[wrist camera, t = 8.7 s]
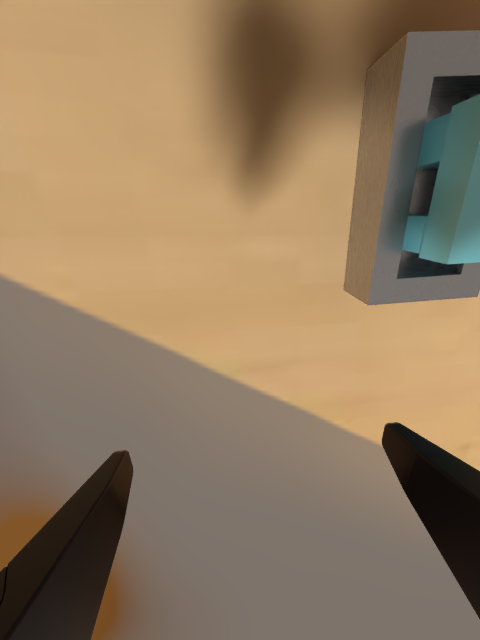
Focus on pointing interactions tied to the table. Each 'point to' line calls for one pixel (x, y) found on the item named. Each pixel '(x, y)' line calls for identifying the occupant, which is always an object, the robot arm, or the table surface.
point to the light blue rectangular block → (450, 189)
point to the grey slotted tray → (406, 167)
